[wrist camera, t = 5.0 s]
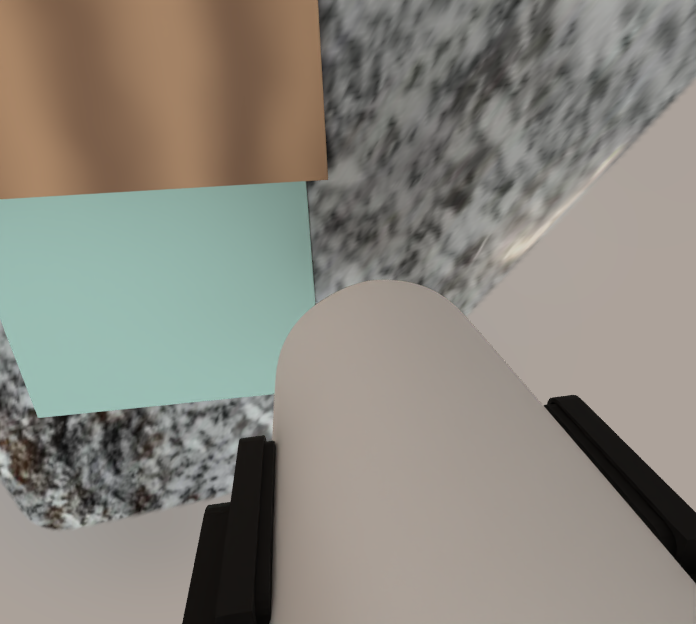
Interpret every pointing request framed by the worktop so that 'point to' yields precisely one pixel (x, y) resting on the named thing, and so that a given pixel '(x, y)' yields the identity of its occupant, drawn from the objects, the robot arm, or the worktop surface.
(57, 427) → the worktop surface
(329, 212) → the worktop surface
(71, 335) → the mat
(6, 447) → the worktop surface
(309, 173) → the board
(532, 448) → the can
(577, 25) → the worktop surface
